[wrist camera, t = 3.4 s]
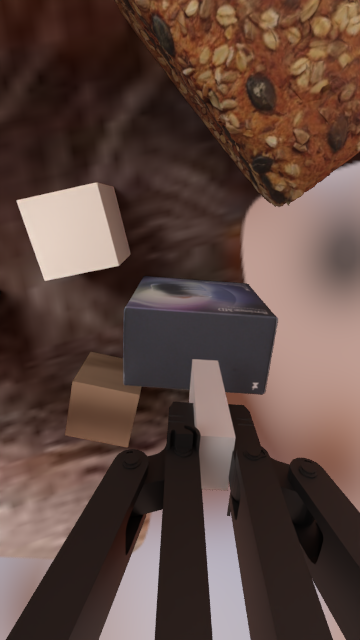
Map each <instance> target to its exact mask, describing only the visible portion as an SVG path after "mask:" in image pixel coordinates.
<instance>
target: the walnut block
mask: <svg viewBox="0 0 360 640" xmlns="http://www.w3.org/2000/svg"><path fill="white" fill-rule="evenodd" d="M140 392H141V386H128V385H124V383H123V359H122V358H118V357H113V356H108V355H104V354H99V353H94V352H90V354H89V355H88V357H87V359H86V360H85V362H84V363H83V365H82V367H81V368H80V370H79V372H78V373H77V375H76V376H75V378H74V380H73V382H72V389H71V396H70V403H69V410H68V417H67V424H66V431H65V435H66V436H71V437H76V438H81V439H86V440H91V441H97V442H102V443H107V444H112V445H117V446H122V447H128V444H129V440H130V436H131V431H132V427H133V423H134V418H135V414H136V410H137V405H138V401H139V396H140Z"/></svg>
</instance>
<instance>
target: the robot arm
mask: <svg viewBox="0 0 360 640" xmlns="http://www.w3.org/2000/svg"><path fill="white" fill-rule="evenodd" d="M229 484H230V490H231V492H230V498H229V505H228V512H227V516H230V512H231V516H232V522H233V528H234V535H235V541H236V548H237V554H238V560H239V567H240V573H241V580H242V586H243V593H244V599H245V606H246V612H247V618H248V625H249V631H250V638H251V640H333V638H332V636H331V633H330V630H329V627H328V624H327V621H326V618H325V615H324V612H323V610H322V607H321V604H320V601H319V598H318V595H317V593H316V589H315V586H314V584H313V581H314V583H315V585H316V587H317V588H318V590H319V592H320V594H321V596H322V597H323V599H324V601H325V603H326V605H327V606H328V608H329V610H330V612H331V613H332V615H333V617H334V619H335V621H336V622H337V624H338V626H339V628H340V630H341V631H342V633H343V635H344V637H345V639H346V640H360V513H359V511H358V510H357V509H356V508H355V506H354V505H353V504H352V503H351V502H350V501H349V499H348V498H347V497H346V496H345V494H344V493H343V492H342V491H341V490H340V489H339V487H338V486H337V485H336V484H335V483H334V481H333V480H332V479H331V478H330V476H329V475H328V474H327V473H326V472H325V470H324V469H323V468H322V467H321V466H320V465H318V464H317V463H316V462H314V461H312V460H310V459H306V458H296V459H294V460H293V461H292V462H291V463H290V465H289V464H286V463H282V462H279V461H276V460H274V459H272V458H271V457H270V456H269V454H268V452H267V451H266V450H265V449H264V448H263V447H261V445H260V442H259V439H258V436H257V433H256V430H255V427H254V424H253V421H252V418H251V415H250V412H249V411H248V409H247V408H246V407H245V406H244V405H231V404H228V402H227V398H226V394H225V389H224V385H223V381H222V376H221V372H220V368H219V363H218V361H215V360H198V359H192V370H191V382H190V394H189V403H184V402H173V404H172V405H171V406H170V407H169V419H168V433H167V444H166V447H165V448H164V450H162V451H161V452H160V453H158V454H155V455H152V456H147V455H146V454H145V453H144V452H142V451H139V450H134V449H130V450H125V451H123V452H121V453H119V454H118V455H117V457H116V458H115V459H114V461H113V463H112V464H111V466H110V467H109V469H108V471H107V472H106V474H105V476H104V477H103V479H102V481H101V482H100V484H99V486H98V487H97V489H96V491H95V492H94V494H93V496H92V497H91V499H90V501H89V502H88V504H87V506H86V507H85V509H84V511H83V512H82V514H81V516H80V517H79V519H78V521H77V522H76V524H75V526H74V527H73V529H72V531H71V532H70V534H69V536H68V537H67V539H66V541H65V542H64V544H63V546H62V547H61V549H60V551H59V552H58V554H57V556H56V557H55V559H54V561H53V562H52V564H51V566H50V567H49V569H48V571H47V572H46V574H45V576H44V577H43V579H42V581H41V583H40V584H39V586H38V587H37V589H36V591H35V592H34V594H33V596H32V597H31V599H30V601H29V602H28V604H27V606H26V607H25V609H24V611H23V612H22V614H21V616H20V617H19V619H18V621H17V622H16V624H15V626H14V627H13V629H12V630H11V632H10V634H9V635H8V637H7V639H6V640H99V637H100V635H101V632H102V629H103V627H104V624H105V622H106V619H107V616H108V614H109V611H110V609H111V606H112V603H113V601H114V598H115V596H116V593H117V590H118V588H119V585H120V582H121V580H122V577H123V575H124V572H125V570H126V567H127V564H128V562H129V559H130V557H131V554H132V551H133V549H134V546H135V544H136V541H137V538H138V536H139V533H140V531H141V528H142V525H143V523H144V520H145V518H146V514H147V513H150V512H154V511H157V510H161V509H163V514H162V530H161V546H160V563H159V579H158V596H157V611H156V627H155V640H212V626H211V612H210V599H209V584H208V571H207V556H206V543H205V528H204V514H203V502H202V489H208V490H228V485H229ZM312 580H313V581H312Z"/></svg>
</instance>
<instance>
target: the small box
mask: <svg viewBox="0 0 360 640" xmlns="http://www.w3.org/2000/svg"><path fill="white" fill-rule="evenodd" d="M277 323H278V318H277V317H276V316H275V315H274V314H273V313H272V312H271V310H270V309H269V308H268V307H267V306H266V305H265V303H263V301H262V300H261V299H260V298H259V296H258V295H257V294H256V293H255V292H254V291H253V289H252V288H251V287H250V286H249V284H245V283H232V282H218V281H205V280H192V279H178V278H165V277H151V276H144V277H143V278H142V280H141V282H140V283H139V285H138V287H137V289H136V290H135V292H134V294H133V296H132V297H131V299H130V300H129V302H128V304H127V305H126V307H125V308H124V333H123V383H124V385H128V386H141V387H157V388H171V389H186V390H190V382H191V370H192V359H198V360H215V361H218V363H219V368H220V372H221V376H222V381H223V385H224V389H225V392H230V393H245V394H247V393H248V394H260V395H262V394H264V393H265V392H266V385H267V379H268V373H269V369H270V362H271V357H272V352H273V345H274V339H275V334H276V328H277Z"/></svg>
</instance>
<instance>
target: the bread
mask: <svg viewBox="0 0 360 640" xmlns="http://www.w3.org/2000/svg"><path fill="white" fill-rule="evenodd" d="M115 2H116V3H117V5H118V7H119V9H120V12H121V14H122V15H123V16H124V17H125V19H126V20H127V21H128V23H129V24H130V26H131V27H132V29H133V30H134V32H135V33H136V34H137V36H138V37H139V38H140V40H141V41H142V42H143V44H144V45H145V46H146V48H147V49H148V50H149V51H150V53H151V54H152V55H153V57H154V58H155V59H156V61H157V62H158V63H159V64H160V66H161V67H162V68H164V70H165V72H166V73H167V75H168V77H169V78H170V79H171V80H172V82H173V83H174V84H175V86H176V88H177V89H178V90H179V92H180V93H181V94H182V95H183V96H184V98H185V100H186V101H187V102H188V103H189V104H190V106H191V107H192V108H193V110H194V111H195V112H196V113H197V114H198V115H199V117H200V118H201V120H202V121H203V122H204V124H205V125H206V126H207V127H208V129H209V130H210V132H211V133H212V135H213V136H214V138H215V139H217V140H218V142H219V143H220V144H221V146H222V147H223V149H224V150H225V151H226V152H227V154H228V155H229V156H230V157H231V158H232V160H233V161H234V162H235V164H236V165H237V166H238V168H239V169H240V170H241V172H242V173H243V174H244V176H245V177H246V178H247V179H248V180H249V181H250V182H251V183H252V184H253V186H254V188H255V189H256V190H257V192H258V193H260V194H261V195H262V196H263V197H264V198H265V199H266V200H267V201H268V202H269V203H272V204H273V205H274V206H279V207H280V206H283V205H284V204H285V203H287V204H288V205H289V204H290V202H292V201H294V200H296V199H297V198H299V197H301V196H302V195H303V194H304V192H307V191H308V190H309V189H311V188H313V187H314V186H315V185H316V184H317V183H319V182H321V181H322V180H323V179H324V178H326V177H327V176H329V175H330V173H331V172H333V171H334V170H336V169H337V168H339V167H340V166H341V165H343V164H344V163H346V162H347V161H348V160H350V159H351V158H353V157H354V156H355V155H356V154H357V153H359V152H360V0H115Z"/></svg>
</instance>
